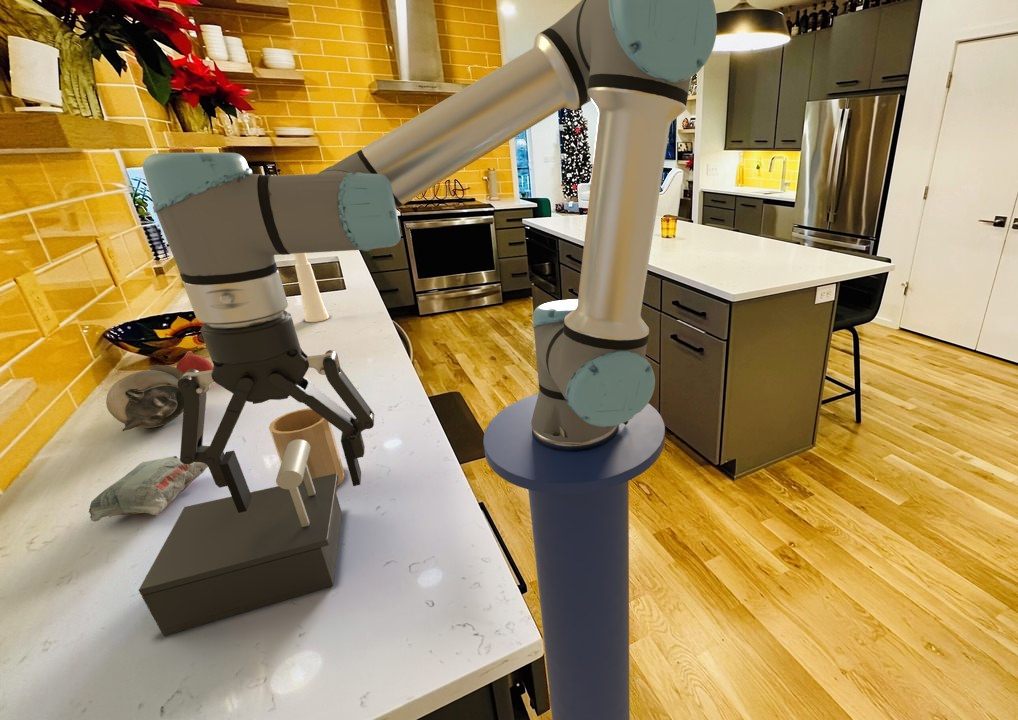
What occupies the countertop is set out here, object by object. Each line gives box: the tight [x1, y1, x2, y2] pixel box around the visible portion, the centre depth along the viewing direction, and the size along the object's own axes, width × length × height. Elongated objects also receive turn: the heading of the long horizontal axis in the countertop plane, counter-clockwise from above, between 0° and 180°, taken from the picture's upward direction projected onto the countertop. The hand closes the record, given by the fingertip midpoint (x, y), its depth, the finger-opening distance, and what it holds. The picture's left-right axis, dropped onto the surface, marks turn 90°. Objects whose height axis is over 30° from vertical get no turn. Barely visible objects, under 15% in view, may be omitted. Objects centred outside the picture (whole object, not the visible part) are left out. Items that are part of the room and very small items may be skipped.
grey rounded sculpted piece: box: [105, 364, 184, 432], centre depth 89 cm, size 10×12×10 cm
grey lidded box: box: [141, 493, 343, 637], centre depth 60 cm, size 16×14×6 cm
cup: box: [268, 407, 346, 487], centre depth 74 cm, size 7×7×11 cm
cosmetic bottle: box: [293, 253, 330, 323], centre depth 140 cm, size 6×6×22 cm
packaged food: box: [88, 455, 209, 523], centre depth 71 cm, size 9×12×5 cm
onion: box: [175, 350, 213, 374], centre depth 103 cm, size 6×6×8 cm
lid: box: [138, 439, 339, 596], centre depth 57 cm, size 16×14×9 cm
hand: (303, 491), depth 60 cm, fingers open, 11 cm apart
